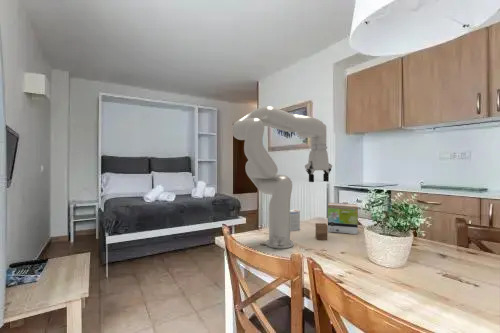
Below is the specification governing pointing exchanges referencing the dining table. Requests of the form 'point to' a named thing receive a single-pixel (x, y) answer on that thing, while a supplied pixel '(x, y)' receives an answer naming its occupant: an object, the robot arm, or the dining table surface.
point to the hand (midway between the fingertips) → (318, 181)
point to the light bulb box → (294, 219)
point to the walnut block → (321, 231)
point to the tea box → (343, 218)
